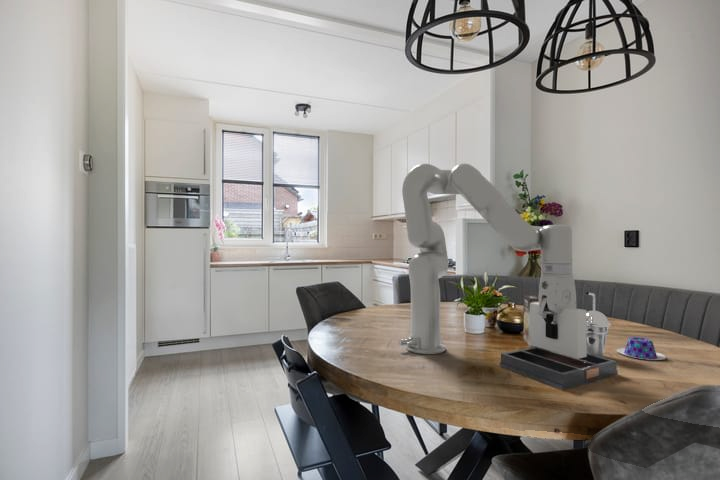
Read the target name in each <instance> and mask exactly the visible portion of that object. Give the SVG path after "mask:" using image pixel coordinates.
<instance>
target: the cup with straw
mask: <svg viewBox="0 0 720 480" xmlns="http://www.w3.org/2000/svg"><path fill="white" fill-rule="evenodd" d="M586 295H589V296H592V310H588V311H586V336H587V353H588V354H592V355H595V356H599V357H603V358H604V354H605V348H606V340H607V335H608V331H609V327H610V328H611V327H612V324H611V322H610V321H609V320H608V318H607V316H606V315H605V314H604V313H602V312H600V311H598V310H596V294H595V293H593V292H589V291H587V292H586Z"/></svg>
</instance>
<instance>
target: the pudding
mask: <svg viewBox="0 0 720 480" xmlns="http://www.w3.org/2000/svg"><path fill="white" fill-rule="evenodd" d="M616 352H617V353H619V354H621V355H624V356H627V357H630V358H634V359H639V360H646V361H647V360H648V361H649V360H650V361H660V360H661V361H662V360H666V358H667V357H666V355H664V354H662V353H659V352H656V349H655V345H654V342H653V341H652V340H651V339H649V338H645V337H638V336H637V337H636V336H632V337H629V338H628V339H627V341H626V345H625V347H621V348H618V349H616Z"/></svg>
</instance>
